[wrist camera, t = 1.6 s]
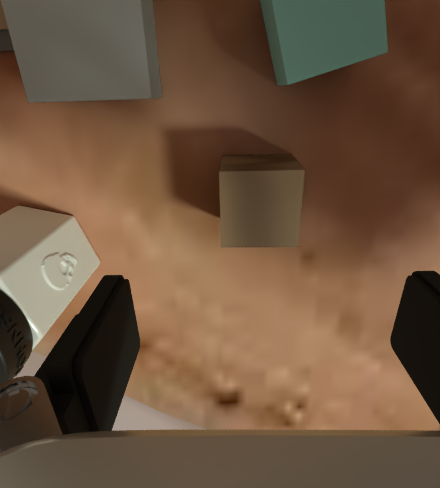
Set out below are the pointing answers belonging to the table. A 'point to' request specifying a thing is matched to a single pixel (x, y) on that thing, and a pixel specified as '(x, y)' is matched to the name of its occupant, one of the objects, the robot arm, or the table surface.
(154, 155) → the table surface
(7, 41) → the swatch
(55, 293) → the jar
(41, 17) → the grey base block
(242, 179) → the walnut cube
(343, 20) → the teal cube
